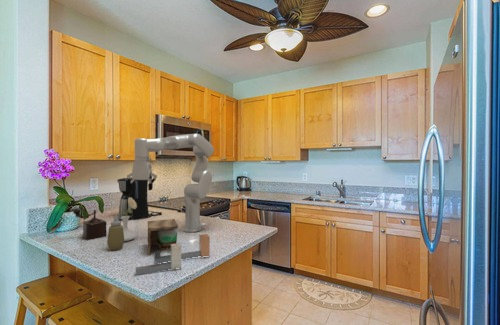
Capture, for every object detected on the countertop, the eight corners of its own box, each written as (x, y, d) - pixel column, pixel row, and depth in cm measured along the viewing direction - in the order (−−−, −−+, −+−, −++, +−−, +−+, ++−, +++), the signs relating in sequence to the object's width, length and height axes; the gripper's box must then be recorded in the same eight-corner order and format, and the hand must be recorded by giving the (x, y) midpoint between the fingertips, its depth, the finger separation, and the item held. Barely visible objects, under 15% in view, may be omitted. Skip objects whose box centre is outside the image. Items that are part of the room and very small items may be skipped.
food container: (156, 251, 126) (157, 231, 126) (155, 247, 131) (155, 228, 131) (180, 247, 131) (181, 228, 131) (178, 243, 137) (178, 226, 137)
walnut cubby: (174, 241, 141) (174, 218, 141) (177, 251, 125) (177, 225, 125) (147, 244, 135) (147, 221, 135) (147, 255, 120) (147, 228, 120)
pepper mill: (101, 232, 157) (101, 205, 157) (106, 236, 150) (107, 207, 150) (72, 238, 145) (72, 208, 145) (76, 242, 138) (77, 211, 138)
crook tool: (204, 249, 129) (204, 230, 129) (209, 257, 118) (209, 236, 118) (154, 256, 119) (154, 235, 119) (155, 265, 108) (155, 243, 108)
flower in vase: (124, 244, 136) (124, 199, 136) (109, 241, 140) (109, 198, 140) (142, 237, 148) (142, 196, 148) (128, 235, 152) (128, 195, 152)
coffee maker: (112, 218, 198) (112, 177, 198) (150, 211, 223) (150, 175, 223) (125, 222, 184) (125, 178, 184) (163, 215, 209) (163, 176, 209)
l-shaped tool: (179, 265, 109) (180, 243, 109) (181, 268, 105) (181, 245, 105) (135, 272, 101) (135, 248, 101) (135, 276, 98) (135, 251, 98)
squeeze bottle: (112, 252, 123) (112, 217, 123) (103, 249, 127) (104, 215, 127) (127, 248, 130) (127, 214, 130) (119, 245, 134) (119, 212, 134)
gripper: (159, 160, 140) (159, 189, 140) (130, 160, 141) (130, 189, 141) (153, 160, 133) (153, 191, 133) (123, 160, 134) (123, 190, 134)
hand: (142, 190), depth 137 cm, fingers open, 9 cm apart
